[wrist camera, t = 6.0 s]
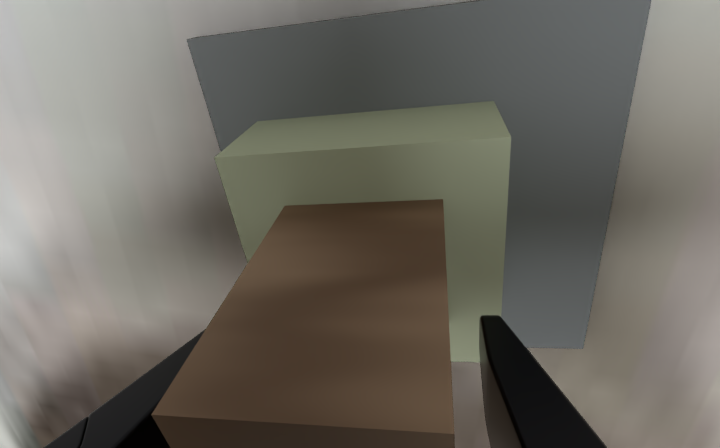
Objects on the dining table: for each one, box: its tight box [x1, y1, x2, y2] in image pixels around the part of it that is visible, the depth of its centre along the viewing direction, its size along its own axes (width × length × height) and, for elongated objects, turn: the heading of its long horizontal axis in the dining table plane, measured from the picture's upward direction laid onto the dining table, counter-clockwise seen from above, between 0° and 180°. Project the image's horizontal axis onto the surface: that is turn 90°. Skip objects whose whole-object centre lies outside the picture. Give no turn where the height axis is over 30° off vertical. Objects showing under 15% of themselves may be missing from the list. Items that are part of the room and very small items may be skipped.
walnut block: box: [151, 199, 455, 448], centre depth 9 cm, size 4×4×6 cm
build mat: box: [187, 0, 651, 349], centre depth 14 cm, size 12×12×1 cm
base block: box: [214, 101, 511, 362], centre depth 13 cm, size 7×7×3 cm
